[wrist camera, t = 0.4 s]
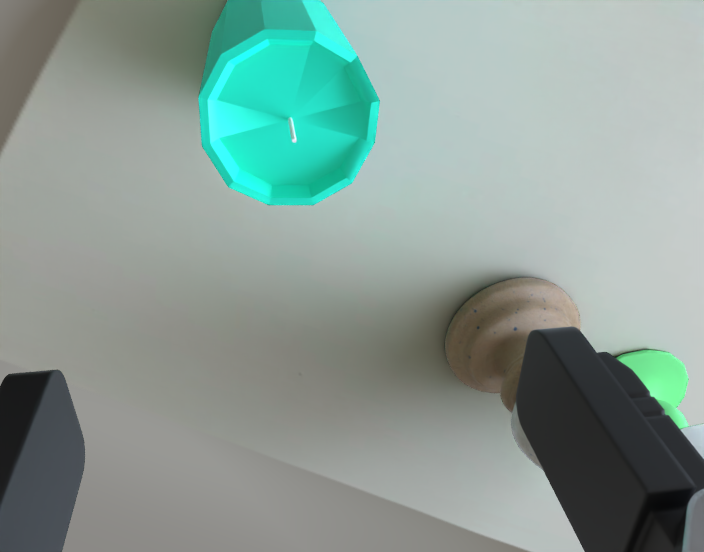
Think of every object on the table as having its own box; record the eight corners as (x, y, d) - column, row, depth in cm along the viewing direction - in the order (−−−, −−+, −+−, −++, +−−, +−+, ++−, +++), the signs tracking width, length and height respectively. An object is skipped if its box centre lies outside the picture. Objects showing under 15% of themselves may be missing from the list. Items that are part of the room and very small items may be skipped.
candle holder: (553, 382, 43) (751, 703, 27) (432, 384, 42) (561, 727, 25) (591, 276, 39) (860, 581, 22) (458, 274, 37) (636, 601, 20)
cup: (673, 285, 40) (883, 482, 27) (743, 392, 47) (939, 591, 34) (501, 403, 44) (613, 628, 31) (589, 486, 50) (713, 701, 37)
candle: (277, 138, 31) (294, 260, 21) (183, 48, 28) (150, 140, 18) (366, 52, 30) (429, 140, 20) (275, -52, 27) (294, -12, 17)
